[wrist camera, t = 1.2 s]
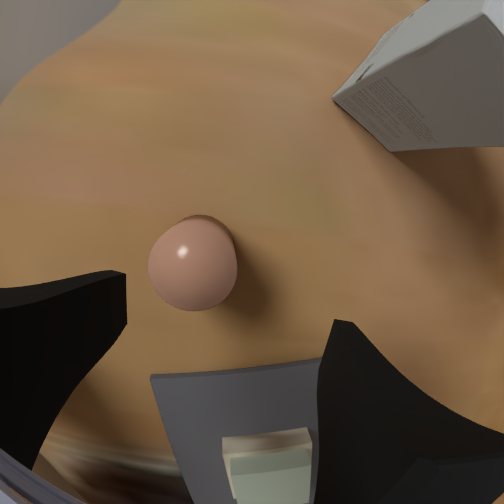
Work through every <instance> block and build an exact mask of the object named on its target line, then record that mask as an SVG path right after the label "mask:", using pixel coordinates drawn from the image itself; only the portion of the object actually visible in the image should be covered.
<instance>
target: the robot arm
mask: <svg viewBox="0 0 504 504" xmlns="http://www.w3.org/2000/svg"><path fill="white" fill-rule="evenodd" d="M126 324H127V303H126V274H125V273H121V272H117V271H113V270H106V271H99V272H94V273H89V274H84V275H80V276H75V277H71V278H66V279H62V280H57V281H52V282H47V283H42V284H36V285H30V286H22V287H13V288H0V504H27V503H26V502H25V501H23V500H22V499H21V498H20V497H18V496H17V495H16V494H15V493H13V492H12V491H11V490H9V488H10V487H11V488H12V489H13V490H15V491H16V492H17V493H19V494H20V495H22V496H23V497H24V498H26V499H27V500H28V501H30V502H31V503H33V504H86V503H84V502H82V501H80V500H78V499H76V498H74V497H73V496H71V495H69V494H67V493H65V492H64V491H62V490H60V489H59V488H57V487H55V486H54V485H52V484H50V483H49V482H47V481H46V480H44V479H43V478H41V477H39V476H38V475H36V474H35V473H33V472H32V468H33V465H34V463H35V460H36V458H37V455H38V453H39V451H40V448H41V446H42V444H43V442H44V440H45V438H46V436H47V434H48V432H49V430H50V428H51V426H52V424H53V422H54V421H55V419H56V417H57V415H58V414H59V412H60V410H61V409H62V407H63V405H64V404H65V402H66V401H67V399H68V398H69V396H70V395H71V393H72V392H73V390H74V389H75V388H76V386H77V385H78V384H79V382H80V381H81V380H82V379H83V378H84V377H85V376H86V374H87V373H88V372H89V371H90V370H91V369H92V368H93V367H94V366H95V364H96V363H97V362H98V361H99V360H100V359H101V358H102V357H103V356H104V354H105V353H106V352H107V351H108V350H109V349H110V348H111V346H112V345H113V344H114V343H115V341H116V340H117V339H118V337H119V336H120V334H121V332H122V331H123V329H124V328H125V326H126ZM317 413H318V434H319V463H318V473H317V482H316V490H315V497H314V504H492V503H493V502H494V501H495V500H496V499H497V498H498V497H499V496H501V495H502V494H503V493H504V434H503V433H500V432H498V431H495V430H492V429H489V428H487V427H484V426H482V425H479V424H477V423H475V422H473V421H471V420H469V419H467V418H465V417H463V416H461V415H459V414H457V413H455V412H454V411H452V410H450V409H448V408H447V407H445V406H444V405H442V404H441V403H439V402H437V401H436V400H434V399H433V398H431V397H430V396H428V395H427V394H426V393H424V392H423V391H422V390H420V389H419V388H418V387H417V386H415V385H414V384H413V383H412V382H410V381H409V380H408V379H407V378H406V377H405V376H403V375H402V374H401V373H400V372H399V371H398V370H397V369H396V368H395V367H394V366H393V365H392V364H391V363H390V362H389V361H388V360H387V359H386V358H385V357H384V356H383V355H382V354H381V353H380V352H379V351H378V349H377V348H376V347H375V346H374V345H373V344H372V343H371V342H370V341H369V339H368V338H367V337H366V336H365V335H364V334H363V333H362V331H361V330H360V329H359V328H358V327H357V326H356V325H355V324H354V323H353V322H348V321H343V320H337V319H334V322H333V325H332V329H331V332H330V335H329V338H328V341H327V345H326V348H325V351H324V354H323V357H322V360H321V363H320V366H319V369H318V381H317Z"/></svg>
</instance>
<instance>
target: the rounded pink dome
mask: <svg viewBox="0 0 504 504" xmlns="http://www.w3.org/2000/svg"><path fill="white" fill-rule="evenodd" d="M148 270H149V276H150V280H151V283H152V285H153V287H154V289H155V290H156V292H157V293H158V294H159V296H160V297H161V298H162V299H163V300H165V301H166V302H167V303H169V304H170V305H172V306H174V307H176V308H179V309H181V310H186V311H202V310H206V309H210V308H212V307H214V306H216V305H218V304H219V303H220V302H222V301H223V300H224V299H225V298H226V297H227V296H228V295H229V293H230V292H231V290H232V288H233V286H234V284H235V281H236V277H237V261H236V254H235V248H234V242H233V238H232V236H231V234H230V232H229V230H228V229H227V228H226V226H225V225H224V224H223V223H221V222H220V221H219V220H217V219H215V218H213V217H210V216H206V215H194V216H190V217H187V218H185V219H183V220H181V221H180V222H178V223H177V224H176V225H174V226H173V227H172V228H170V229H169V230H168V231H166V232H165V233H164V234H163V235H162V236H160V238H159V239H158V240H157V241H156V243H155V244H154V246H153V248H152V250H151V253H150V256H149V262H148Z"/></svg>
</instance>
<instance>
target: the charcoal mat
mask: <svg viewBox="0 0 504 504" xmlns="http://www.w3.org/2000/svg"><path fill="white" fill-rule="evenodd" d="M321 360H322V357H321V358H316V359H309V360H303V361H297V362H290V363H283V364H275V365H268V366H260V367H251V368H242V369H232V370H221V371H209V372H194V373H177V374H152V375H151V377H150V382H151V385H152V389H153V392H154V395H155V399H156V402H157V405H158V408H159V411H160V415H161V418H162V421H163V424H164V427H165V430H166V433H167V435H168V438H169V441H170V444H171V447H172V449H173V452H174V455H175V458H176V460H177V463H178V465H179V468H180V471H181V473H182V476H183V478H184V481H185V483H186V485H187V488H188V490H189V493H190V495H191V497H192V500H193V502H194V504H237V500H236V499H233V495H232V491H231V487H230V483H229V479H228V475H227V471H226V467H225V463H224V459H223V454H222V438H223V437H235V436H246V435H255V434H264V433H271V432H278V431H285V430H292V429H298V428H304V427H307V429H308V432H309V435H310V438H311V441H312V458H311V480H310V495H309V503H305V504H311V503H314V497H315V490H316V482H317V473H318V463H319V434H318V413H317V381H318V369H319V366H320V363H321Z"/></svg>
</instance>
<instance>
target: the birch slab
mask: <svg viewBox="0 0 504 504" xmlns="http://www.w3.org/2000/svg"><path fill="white" fill-rule="evenodd" d="M302 448H306V450H307V453H308V456H309V459H310V462H311V458H312V441H311V438H310V435H309V432H308V429H307V427H304V428H298V429H292V430H285V431H278V432H271V433H264V434H255V435H246V436H235V437H223V438H222V454H223V459H224V463H225V467H226V471H227V475H228V479H229V483H230V487H231V491H232V495H233V499H236V496H235V492H234V488H233V484H232V480H231V474H230V458H231V457H243V456H253V455H261V454H269V453H277V452H283V451H290V450H296V449H302Z"/></svg>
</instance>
